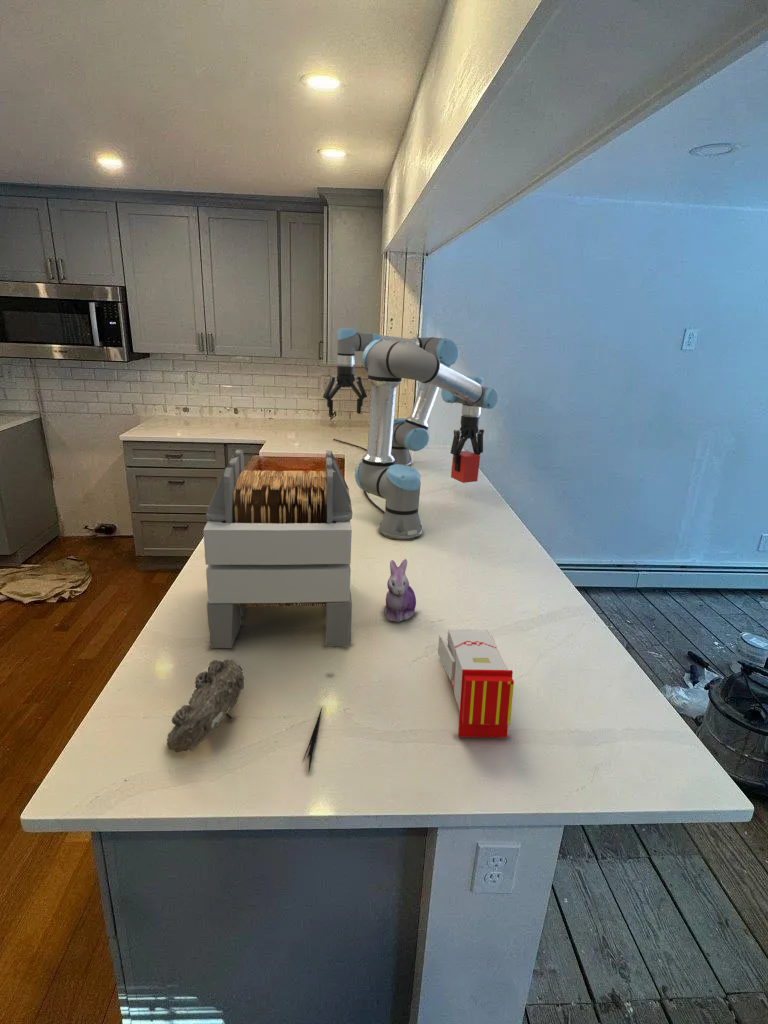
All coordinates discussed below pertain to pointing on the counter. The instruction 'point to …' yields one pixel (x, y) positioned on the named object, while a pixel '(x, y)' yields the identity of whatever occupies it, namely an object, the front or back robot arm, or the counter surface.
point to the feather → (313, 740)
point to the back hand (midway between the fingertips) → (344, 414)
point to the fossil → (206, 705)
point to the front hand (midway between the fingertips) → (465, 470)
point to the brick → (466, 467)
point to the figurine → (399, 594)
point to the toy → (478, 682)
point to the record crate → (278, 547)
